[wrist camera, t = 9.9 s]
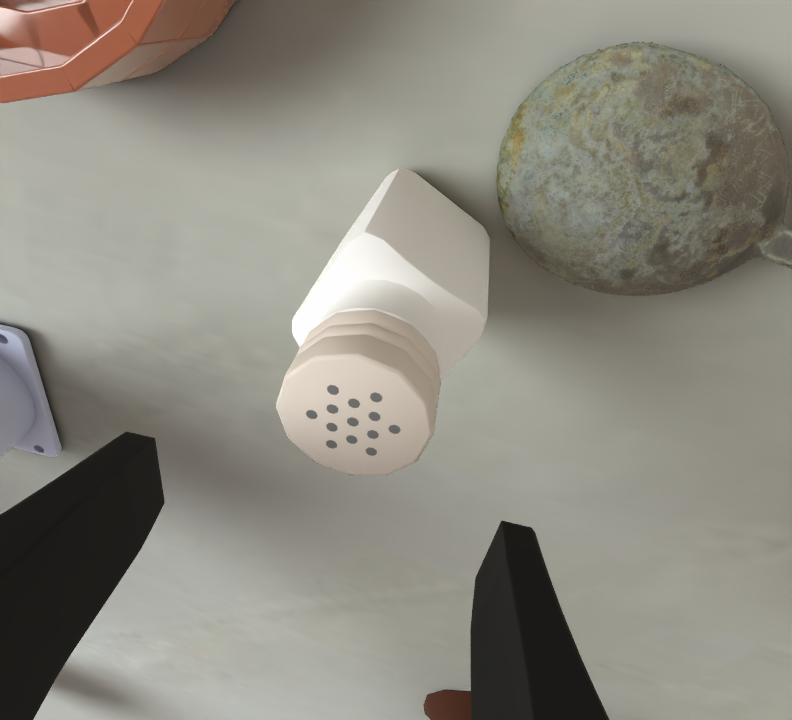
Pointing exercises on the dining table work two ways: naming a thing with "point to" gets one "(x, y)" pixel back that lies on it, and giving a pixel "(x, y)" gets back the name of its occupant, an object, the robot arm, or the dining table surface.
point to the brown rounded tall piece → (448, 705)
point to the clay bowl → (95, 41)
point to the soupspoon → (644, 172)
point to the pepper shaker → (386, 330)
